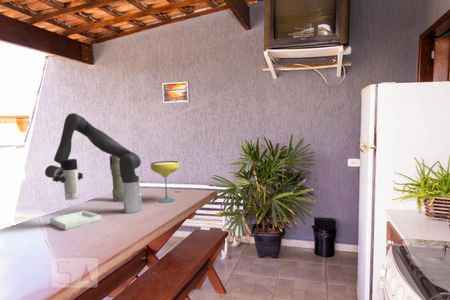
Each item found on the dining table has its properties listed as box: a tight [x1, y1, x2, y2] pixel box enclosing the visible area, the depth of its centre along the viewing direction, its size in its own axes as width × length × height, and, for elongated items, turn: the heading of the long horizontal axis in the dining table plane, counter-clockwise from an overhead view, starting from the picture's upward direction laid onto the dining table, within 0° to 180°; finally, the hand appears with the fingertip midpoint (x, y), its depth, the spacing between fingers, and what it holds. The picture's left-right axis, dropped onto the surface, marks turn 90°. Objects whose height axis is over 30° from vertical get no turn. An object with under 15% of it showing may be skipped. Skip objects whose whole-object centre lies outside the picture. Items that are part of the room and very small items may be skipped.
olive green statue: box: [109, 154, 124, 203], centre depth 210 cm, size 9×12×35 cm
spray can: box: [62, 158, 81, 201], centre depth 159 cm, size 7×7×20 cm
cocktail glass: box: [150, 160, 180, 204], centre depth 204 cm, size 18×18×25 cm
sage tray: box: [49, 210, 102, 231], centre depth 162 cm, size 18×18×3 cm
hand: (72, 178), depth 157 cm, fingers closed on spray can, 6 cm apart
